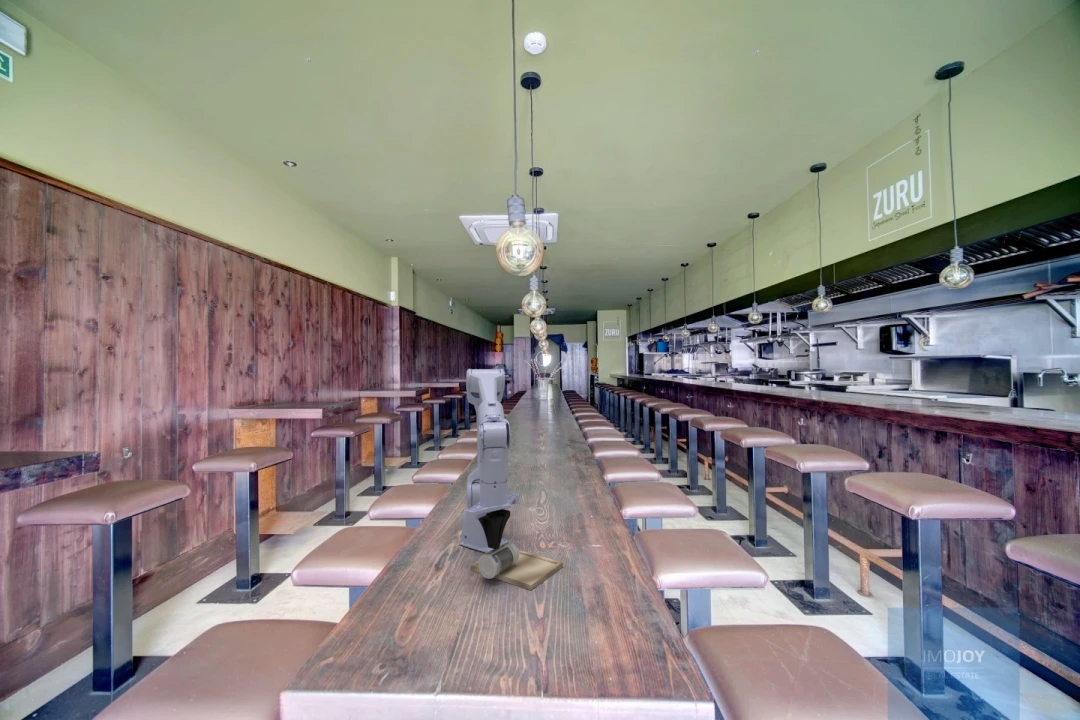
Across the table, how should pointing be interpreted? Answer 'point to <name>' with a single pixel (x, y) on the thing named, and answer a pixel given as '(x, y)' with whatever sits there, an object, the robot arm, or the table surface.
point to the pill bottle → (498, 560)
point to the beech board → (527, 570)
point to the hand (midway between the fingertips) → (493, 547)
